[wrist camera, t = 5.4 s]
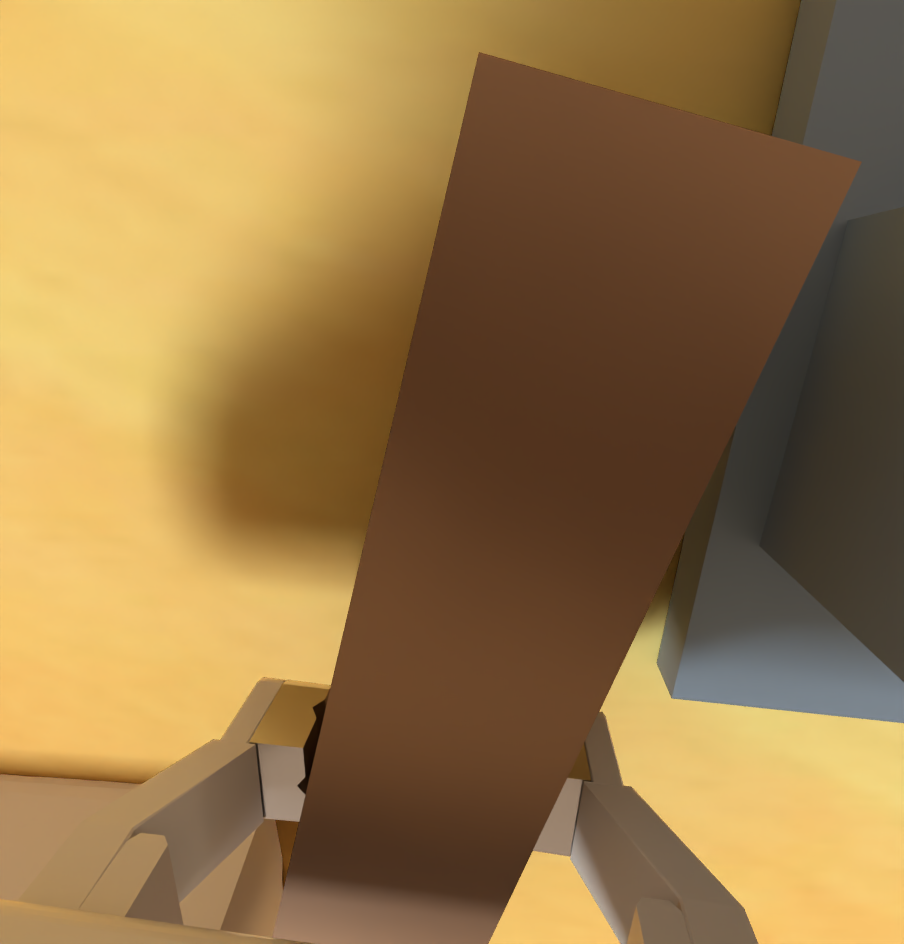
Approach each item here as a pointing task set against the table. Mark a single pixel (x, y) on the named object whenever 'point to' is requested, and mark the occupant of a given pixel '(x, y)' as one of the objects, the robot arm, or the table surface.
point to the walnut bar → (538, 480)
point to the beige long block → (73, 800)
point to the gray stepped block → (816, 427)
